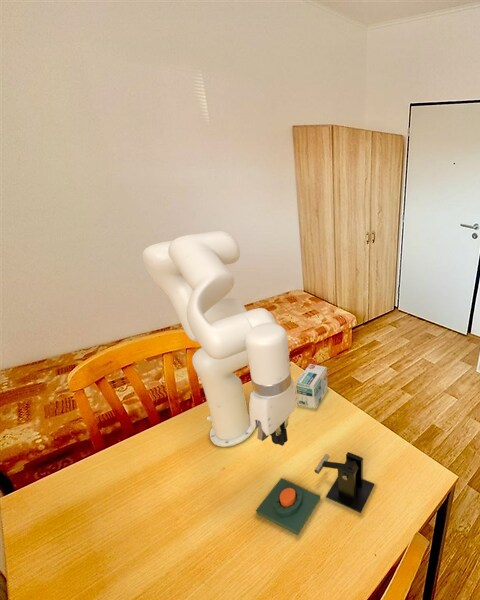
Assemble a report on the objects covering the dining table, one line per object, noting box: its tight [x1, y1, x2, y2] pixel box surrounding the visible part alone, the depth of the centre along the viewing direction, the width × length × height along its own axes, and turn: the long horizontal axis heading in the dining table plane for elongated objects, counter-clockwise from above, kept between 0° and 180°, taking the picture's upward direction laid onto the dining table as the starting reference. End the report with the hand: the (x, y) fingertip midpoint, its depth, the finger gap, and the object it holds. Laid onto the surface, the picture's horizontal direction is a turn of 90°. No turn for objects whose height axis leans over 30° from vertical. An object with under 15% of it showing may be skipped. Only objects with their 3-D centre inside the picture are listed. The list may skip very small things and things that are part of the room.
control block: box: [255, 477, 321, 536], centre depth 78 cm, size 12×9×4 cm
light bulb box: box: [295, 363, 328, 410], centre depth 111 cm, size 11×7×11 cm, turn 168°
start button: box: [280, 488, 296, 507], centre depth 77 cm, size 4×4×2 cm
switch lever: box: [313, 453, 359, 475], centre depth 81 cm, size 11×5×2 cm, turn 68°
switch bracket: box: [325, 451, 375, 514], centre depth 81 cm, size 10×8×12 cm
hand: (279, 441), depth 74 cm, fingers closed
